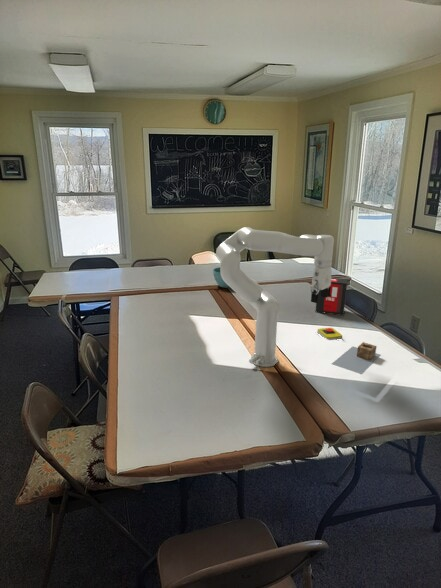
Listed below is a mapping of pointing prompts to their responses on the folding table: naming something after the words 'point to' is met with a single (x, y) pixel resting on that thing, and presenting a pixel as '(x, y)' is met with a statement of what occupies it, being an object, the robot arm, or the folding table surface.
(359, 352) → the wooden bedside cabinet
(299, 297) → the folding table surface
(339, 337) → the emergency button
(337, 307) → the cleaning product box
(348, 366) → the shaft plate
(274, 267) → the folding table surface
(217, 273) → the teal rounded bowl
